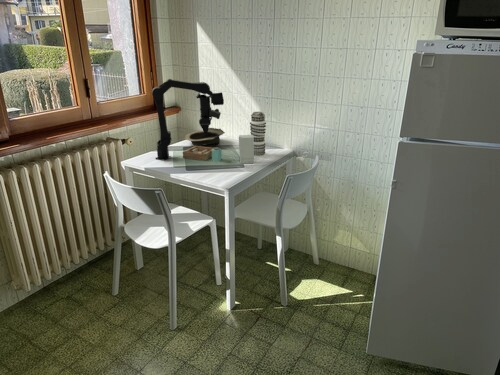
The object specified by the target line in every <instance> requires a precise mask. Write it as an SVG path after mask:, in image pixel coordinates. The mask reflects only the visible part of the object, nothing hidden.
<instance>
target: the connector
mask: <svg viewBox="0 0 500 375" xmlns="http://www.w3.org/2000/svg"><path fill="white" fill-rule="evenodd" d="M213 148H214V149H213V150H212V157H211V159H212V160H213V162H221V161H222V160H223V154H222V153H223V152H222V148H220V147H217V146H216V147H213ZM221 159H222V160H221Z"/></svg>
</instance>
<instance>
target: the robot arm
mask: <svg viewBox="0 0 500 375" xmlns="http://www.w3.org/2000/svg"><path fill="white" fill-rule="evenodd" d="M171 88H176V89H183V90H189V91H190V90H191V91H195V92H197V95H196V96H195V98H196V99H199V111H200V115H199V116H200V119H199V120H198V122H199V123H198V124H199V125H200V127H201V129H202V130H203V131H204V133H205V135H207V133H208V129H209V128H210V126H211V123H212V120H213V118H215V119H217V120H219V119H220V118H221V114H222V113H221V111H220V110H219V108H216V109H215V110H214V109H212V106H211V104H212V105H213V106H223V105H224V103H225V101H224V100H225V99H224V96H223V92H221V91H220V92H213V91H212V90H211V87H210V85H209V84H208V83H206V82H203V81H201V82H200V81H199V82H189V81H183V80H179V79H178V80H177V79H172V78H168V79H167V80H166V81H164V82H163V83H161V84H160V85H159V86H154V87H153V89H152V91H151V94H152V97H153V100H154V102H155V106H156V110H157V112H156V113H157V116H158V123H159V130H160V131H159V140H158V141H157V142H156V151H157V157H155V159H156V160H163V161H166V160H168V159H171V158H172V155H170V152H169V145H171V143H172V141H173V138H172V136H171V135H172V134H171V130H169V129H168V127H167V121H166V116H165V115H166V114H165V109H164V94H165V93H166V92H168V91H169V90H170V89H171Z"/></svg>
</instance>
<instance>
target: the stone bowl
mask: <svg viewBox="0 0 500 375" xmlns="http://www.w3.org/2000/svg"><path fill="white" fill-rule="evenodd" d="M225 133H226V132H225V131H224V130H223V129H221V127H220V128H216V127H209V129H208V133H207V135H205V133H204V131H203V129H202V130H196V131H193V132H190V133H187V134H186V135H185V136H184V140H186V141H189V142H191V144H192V146H193V147H194V146H209V145H214V146H216V147H217V146H219V145H220V143H221V138H220V136H223V135H224V134H225Z"/></svg>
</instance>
